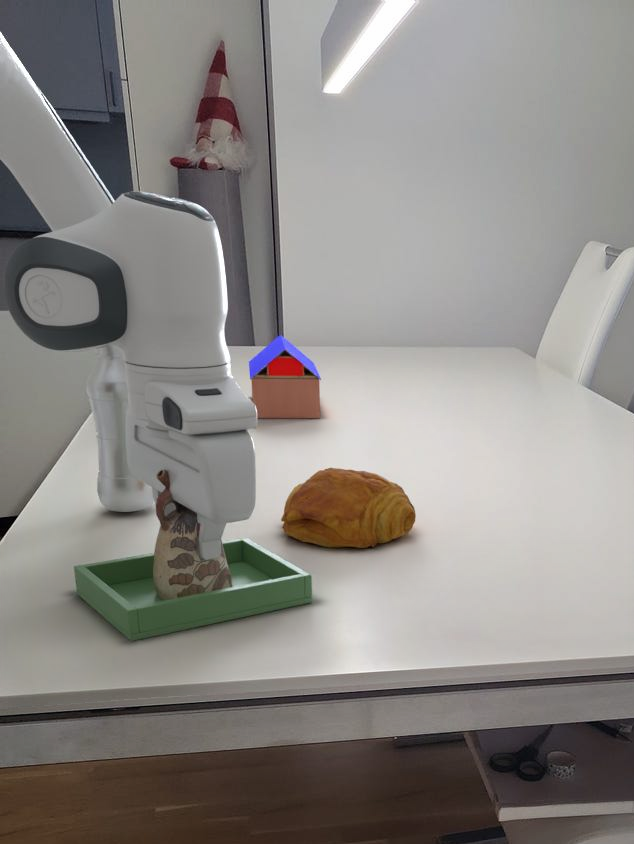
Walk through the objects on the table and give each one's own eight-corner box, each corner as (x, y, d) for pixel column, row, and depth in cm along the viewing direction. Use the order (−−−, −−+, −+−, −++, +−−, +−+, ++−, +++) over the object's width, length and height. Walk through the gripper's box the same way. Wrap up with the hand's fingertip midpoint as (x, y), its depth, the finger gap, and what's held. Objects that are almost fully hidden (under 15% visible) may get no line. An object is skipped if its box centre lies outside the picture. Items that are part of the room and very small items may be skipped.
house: (251, 418, 178) (248, 348, 173) (250, 397, 196) (247, 334, 191) (322, 418, 180) (320, 349, 176) (314, 398, 198) (312, 335, 194)
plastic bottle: (169, 509, 125) (156, 338, 117) (123, 521, 119) (107, 343, 112) (132, 500, 128) (117, 332, 120) (87, 511, 123) (68, 337, 115)
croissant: (331, 524, 129) (324, 460, 127) (436, 530, 121) (430, 461, 119) (252, 550, 117) (243, 479, 115) (362, 557, 109) (354, 482, 107)
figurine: (243, 598, 97) (236, 472, 92) (166, 610, 93) (156, 480, 88) (219, 575, 102) (212, 455, 98) (146, 585, 99) (135, 461, 94)
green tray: (130, 641, 88) (127, 610, 87) (76, 594, 98) (73, 565, 97) (312, 602, 98) (311, 574, 97) (247, 563, 108) (245, 537, 107)
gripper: (102, 379, 96) (115, 522, 101) (195, 418, 81) (205, 583, 87) (167, 375, 100) (177, 513, 105) (267, 411, 85) (272, 570, 91)
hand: (190, 545), depth 96 cm, fingers closed on figurine, 6 cm apart
